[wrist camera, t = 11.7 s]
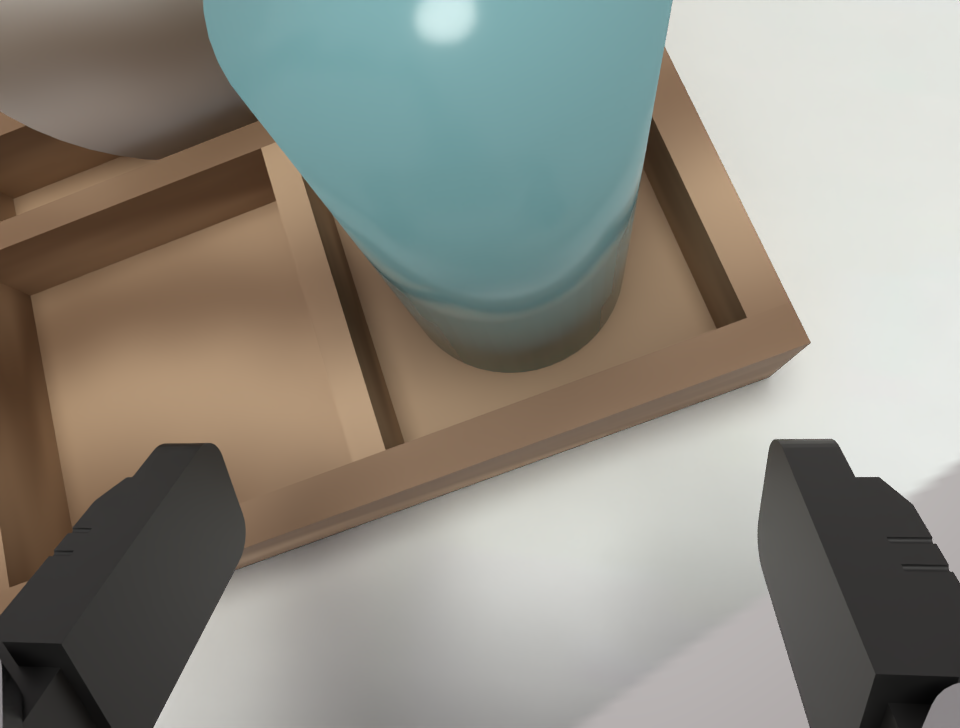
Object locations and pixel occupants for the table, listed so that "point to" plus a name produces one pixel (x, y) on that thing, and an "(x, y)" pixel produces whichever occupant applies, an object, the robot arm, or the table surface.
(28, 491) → the tray
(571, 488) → the table surface
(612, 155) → the teal dome-topped cylinder
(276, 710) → the table surface
